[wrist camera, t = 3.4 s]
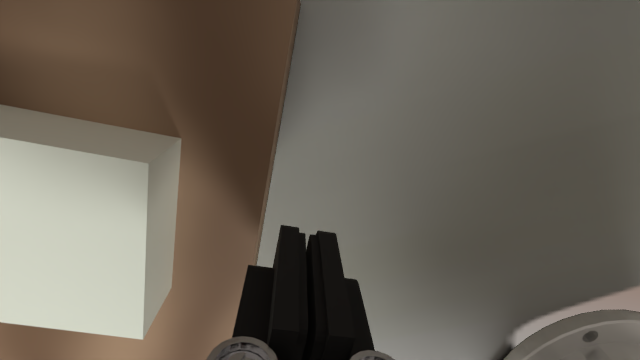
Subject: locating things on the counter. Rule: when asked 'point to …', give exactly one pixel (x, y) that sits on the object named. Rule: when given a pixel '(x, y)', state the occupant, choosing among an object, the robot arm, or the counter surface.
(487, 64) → the counter surface
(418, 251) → the counter surface
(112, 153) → the tile
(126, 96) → the tan square panel
